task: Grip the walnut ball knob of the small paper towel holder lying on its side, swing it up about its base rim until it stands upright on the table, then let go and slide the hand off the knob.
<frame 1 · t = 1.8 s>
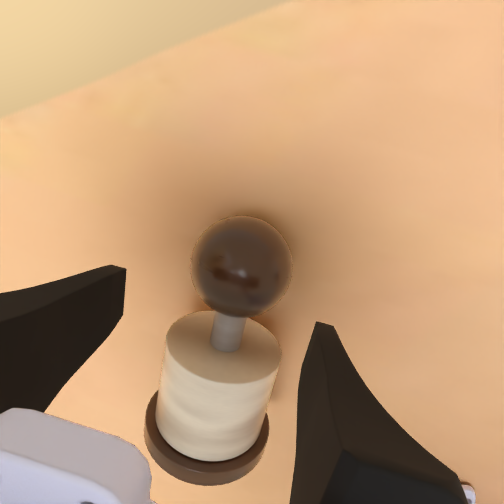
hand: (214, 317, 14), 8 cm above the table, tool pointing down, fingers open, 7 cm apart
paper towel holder: (226, 336, 20), point 3 cm above the table, hinge at 91.7°
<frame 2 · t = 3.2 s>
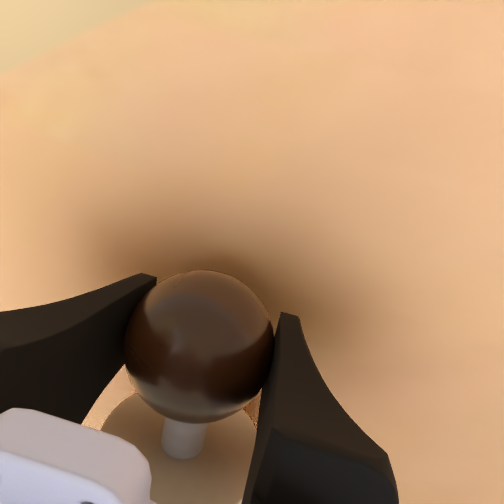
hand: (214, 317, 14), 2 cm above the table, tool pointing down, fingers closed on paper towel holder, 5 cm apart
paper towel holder: (184, 433, 14), point 3 cm above the table, hinge at 91.7°, touching gripper
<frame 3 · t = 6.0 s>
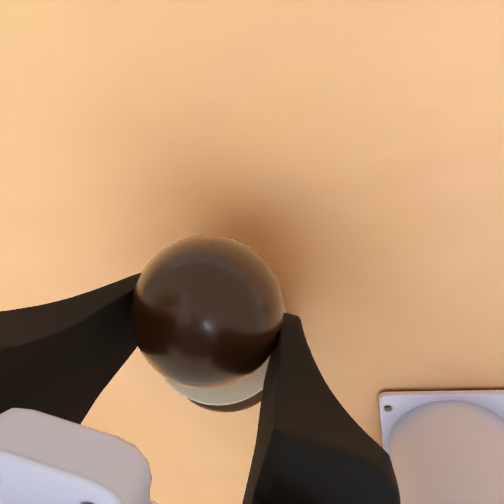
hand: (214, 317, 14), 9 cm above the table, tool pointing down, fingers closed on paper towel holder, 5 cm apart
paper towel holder: (219, 328, 16), point 7 cm above the table, hinge at 42.9°, touching gripper
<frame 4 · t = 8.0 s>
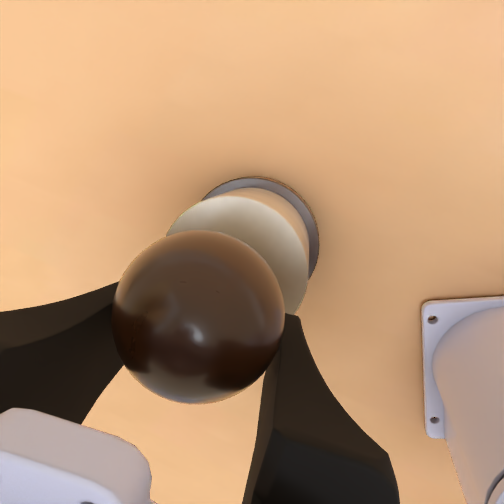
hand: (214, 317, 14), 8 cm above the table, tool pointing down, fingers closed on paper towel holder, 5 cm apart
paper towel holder: (229, 274, 15), point 7 cm above the table, hinge at 9.4°, touching gripper
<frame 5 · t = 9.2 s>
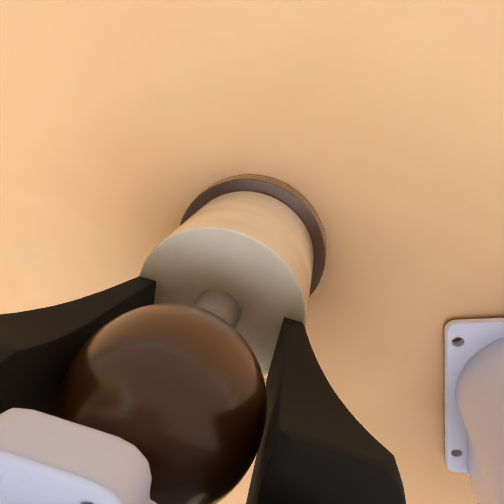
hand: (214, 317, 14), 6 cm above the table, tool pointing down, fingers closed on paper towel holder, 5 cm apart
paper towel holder: (214, 315, 13), point 6 cm above the table, hinge at 0.8°, touching gripper
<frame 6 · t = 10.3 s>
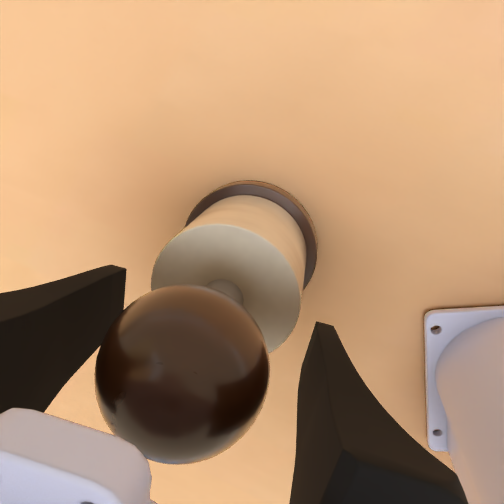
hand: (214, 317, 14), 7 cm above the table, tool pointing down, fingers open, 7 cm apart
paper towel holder: (220, 302, 15), point 7 cm above the table, hinge at 1.8°
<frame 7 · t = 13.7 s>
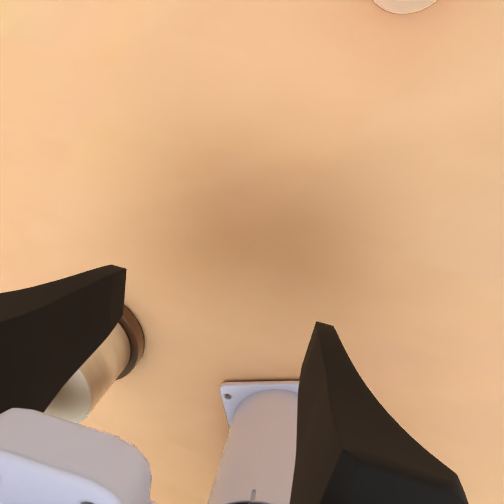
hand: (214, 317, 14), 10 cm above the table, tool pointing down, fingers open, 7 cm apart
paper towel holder: (41, 392, 23), point 7 cm above the table, hinge at 1.8°
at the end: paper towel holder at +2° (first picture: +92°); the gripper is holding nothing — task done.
